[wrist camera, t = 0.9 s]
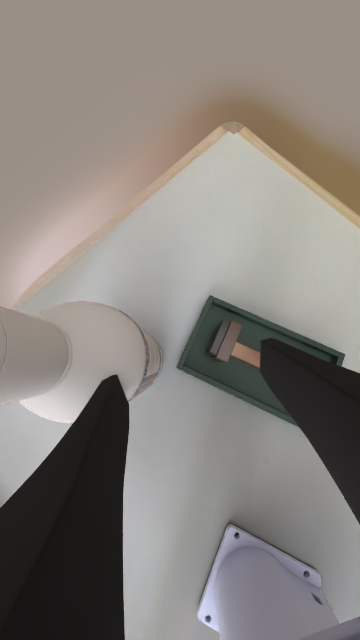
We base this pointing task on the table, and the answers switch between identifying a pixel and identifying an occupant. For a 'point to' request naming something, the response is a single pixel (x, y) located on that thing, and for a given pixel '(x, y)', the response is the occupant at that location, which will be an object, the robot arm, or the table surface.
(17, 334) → the bath foam
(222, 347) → the brown barbell-shaped piece
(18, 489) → the robot arm
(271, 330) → the brush tray
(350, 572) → the table surface
